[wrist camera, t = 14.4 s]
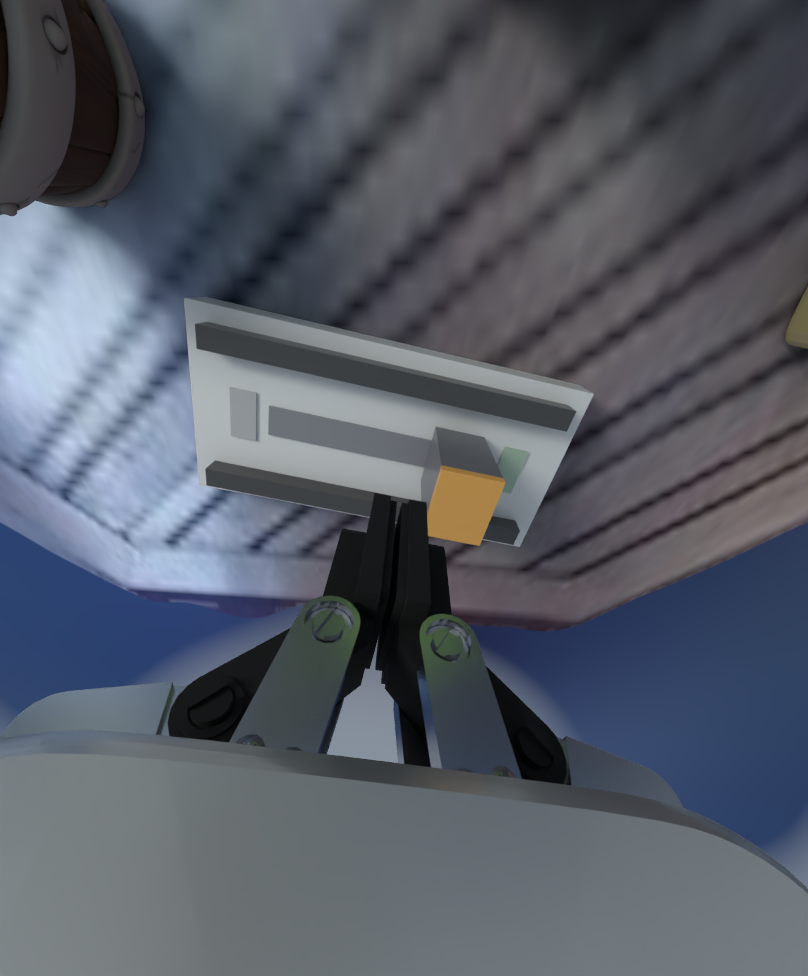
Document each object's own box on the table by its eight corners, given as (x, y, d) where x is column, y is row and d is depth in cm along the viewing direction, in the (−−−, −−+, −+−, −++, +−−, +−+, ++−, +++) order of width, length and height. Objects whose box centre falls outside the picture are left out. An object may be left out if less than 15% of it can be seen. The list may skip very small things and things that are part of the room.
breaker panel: (206, 296, 27) (169, 298, 23) (577, 384, 29) (603, 399, 25) (216, 469, 34) (189, 493, 30) (512, 528, 36) (524, 558, 32)
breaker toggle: (435, 426, 28) (442, 469, 21) (484, 437, 28) (505, 482, 21) (420, 480, 30) (422, 534, 24) (465, 490, 30) (479, 545, 24)
